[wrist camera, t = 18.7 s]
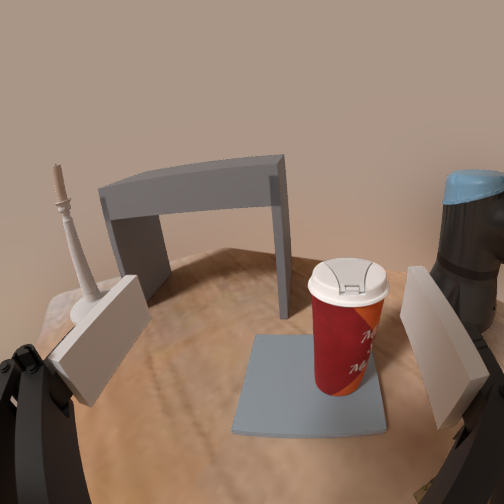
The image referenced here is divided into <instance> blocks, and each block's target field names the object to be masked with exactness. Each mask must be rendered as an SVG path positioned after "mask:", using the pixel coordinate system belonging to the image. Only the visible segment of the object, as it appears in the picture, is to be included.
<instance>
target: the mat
mask: <svg viewBox="0 0 504 504" xmlns="http://www.w3.org/2000/svg"><path fill="white" fill-rule="evenodd" d="M386 429H387V427H386V420H385V414H384V408H383V402H382V396H381V391H380V386H379V380H378V375H377V371H376V366H375V361H374V357H373V352H372V350H371V354H370V357H369V360H368V363H367V367H366V370H365V373H364V376H363V378H362V381H361V383H360V385H359V387H358V388H357V390H355V391H354V392H353V393H351V394H349V395H346V396H330V395H327V394H325V393H323V392H322V391H320V390H319V389H318V387H317V386H316V383H315V375H314V339H313V335H258V334H256V335H255V339H254V344H253V348H252V352H251V356H250V360H249V364H248V368H247V372H246V375H245V379H244V383H243V387H242V391H241V395H240V399H239V403H238V406H237V410H236V414H235V418H234V421H233V425H232V429H231V430H232V433H233V434H239V435H249V436H260V437H277V438H335V437H351V436H363V435H372V434H380V433H385V431H386Z"/></svg>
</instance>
